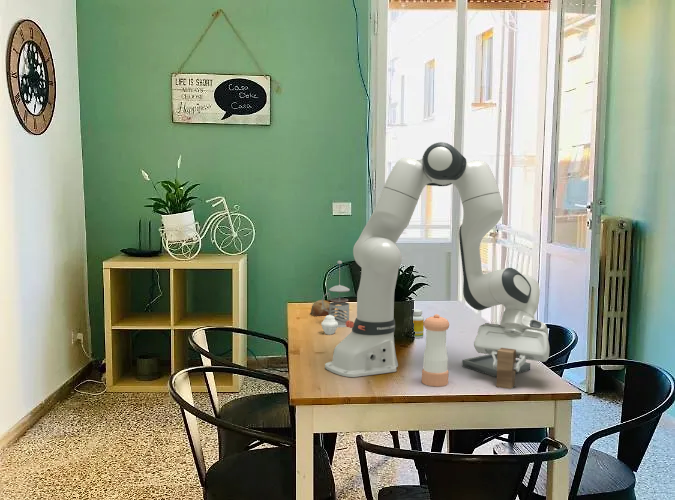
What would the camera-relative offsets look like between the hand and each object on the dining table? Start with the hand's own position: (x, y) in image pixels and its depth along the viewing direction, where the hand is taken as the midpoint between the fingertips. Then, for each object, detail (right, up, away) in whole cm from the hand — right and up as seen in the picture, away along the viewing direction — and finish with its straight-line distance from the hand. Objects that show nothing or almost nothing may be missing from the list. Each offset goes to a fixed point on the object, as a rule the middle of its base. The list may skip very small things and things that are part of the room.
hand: (505, 369), depth 178 cm
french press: (-46, +3, +76) cm, 89 cm away
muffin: (-48, +2, +60) cm, 78 cm away
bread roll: (-52, +5, +95) cm, 108 cm away
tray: (+2, -3, +18) cm, 18 cm away
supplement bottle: (-18, +1, +57) cm, 59 cm away
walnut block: (0, -5, +1) cm, 5 cm away
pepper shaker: (-19, -5, +3) cm, 20 cm away
